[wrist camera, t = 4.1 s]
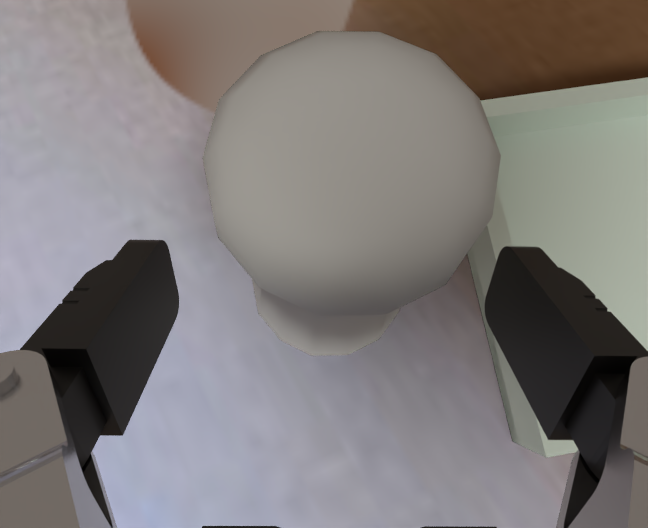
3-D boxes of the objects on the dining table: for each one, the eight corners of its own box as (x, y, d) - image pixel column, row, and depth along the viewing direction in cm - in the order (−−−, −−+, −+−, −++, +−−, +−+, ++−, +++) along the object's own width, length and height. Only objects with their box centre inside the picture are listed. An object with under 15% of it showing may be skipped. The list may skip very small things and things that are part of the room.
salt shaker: (260, 355, 17) (91, 379, 4) (261, 226, 18) (134, -55, 6) (396, 353, 17) (623, 369, 4) (390, 225, 18) (555, -53, 6)
